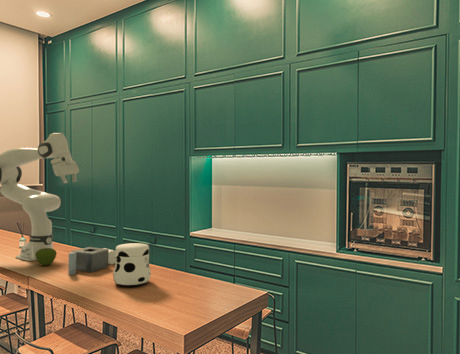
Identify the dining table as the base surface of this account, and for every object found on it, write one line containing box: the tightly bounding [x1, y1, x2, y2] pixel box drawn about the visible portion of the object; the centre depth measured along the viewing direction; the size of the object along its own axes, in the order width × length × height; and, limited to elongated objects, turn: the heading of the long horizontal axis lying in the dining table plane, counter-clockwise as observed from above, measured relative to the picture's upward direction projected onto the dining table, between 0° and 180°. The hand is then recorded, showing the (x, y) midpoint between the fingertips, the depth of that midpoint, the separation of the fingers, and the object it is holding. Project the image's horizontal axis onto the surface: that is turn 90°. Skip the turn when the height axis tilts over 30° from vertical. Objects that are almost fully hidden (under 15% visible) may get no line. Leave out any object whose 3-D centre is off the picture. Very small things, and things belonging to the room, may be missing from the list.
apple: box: [35, 248, 58, 266], centre depth 206 cm, size 11×10×10 cm
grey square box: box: [71, 246, 109, 273], centre depth 201 cm, size 14×13×10 cm
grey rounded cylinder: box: [67, 251, 77, 276], centre depth 189 cm, size 4×4×11 cm
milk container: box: [112, 242, 152, 288], centre depth 174 cm, size 17×17×18 cm
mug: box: [103, 247, 116, 265], centre depth 215 cm, size 12×10×8 cm
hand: (70, 182), depth 214 cm, fingers open, 8 cm apart
